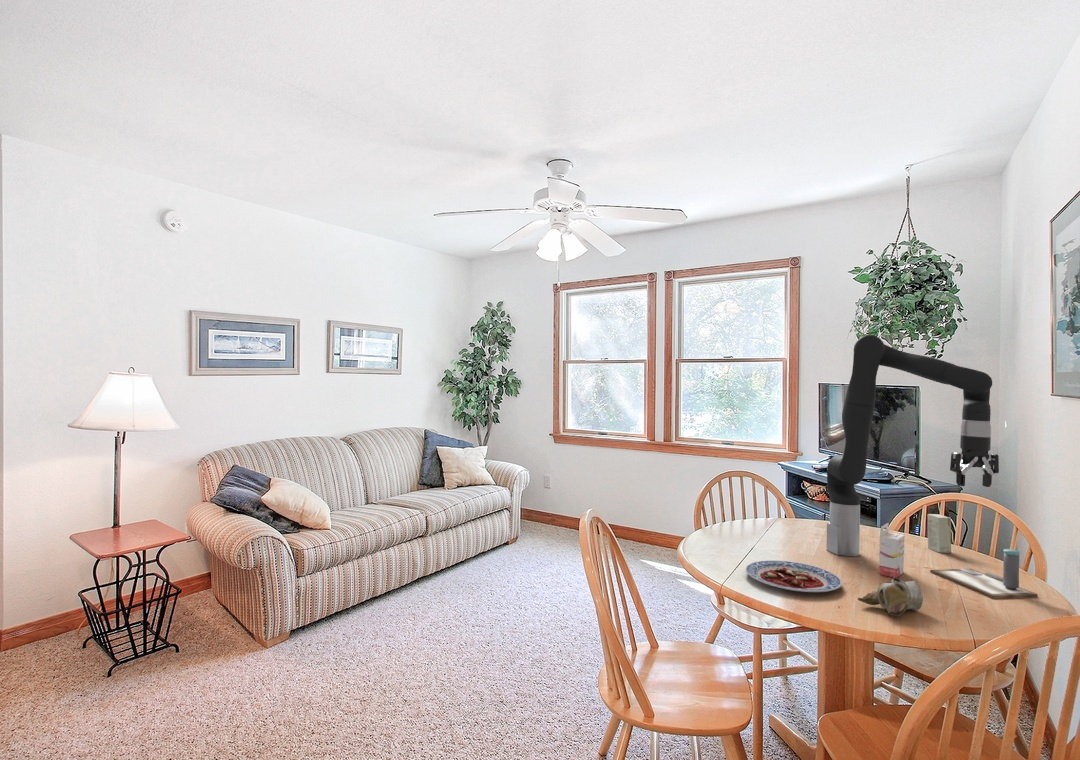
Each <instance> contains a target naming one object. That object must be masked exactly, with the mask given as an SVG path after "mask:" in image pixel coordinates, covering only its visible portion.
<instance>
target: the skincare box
mask: <svg viewBox="0 0 1080 760" xmlns="http://www.w3.org/2000/svg"><path fill="white" fill-rule="evenodd" d="M927 548H928V549H929V550H932V551H934V552H937V553H945V554H946V553H947V554H949V553H950V554H951V553H952V518H951V517H949V516H945V515H942V514H937V513H934V514H933V513H928V514H927Z"/></svg>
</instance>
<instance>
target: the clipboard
mask: <svg viewBox="0 0 1080 760" xmlns="http://www.w3.org/2000/svg"><path fill="white" fill-rule="evenodd" d="M929 572H930V574H933V575H935V576H938V577H941V578H942V579H945V580H948V581H949V582H951V583H954V584H957V585H959V586H961V587H964V588H965V589H968V590H970V591H973V592H975V593H978V594H980V595H983V596H985V597H987V598H990V599H1015V598H1016V599H1018V598H1019V599H1020V598H1021V599H1022V598H1038V597H1039V595H1038V593H1036V592H1033V591H1030V590H1028V589H1025V588H1022V587H1020V586H1019V588H1016V590H1009V589H1006V588H1005V586H1004V585H1003V576H999V575H997V574H994V573H992V572H985V573H983V572H981V571H978V570H975V569H973V568H946V569H945V568H944V569H942V568H941V569H930V570H929Z"/></svg>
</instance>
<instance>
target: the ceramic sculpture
mask: <svg viewBox="0 0 1080 760" xmlns="http://www.w3.org/2000/svg"><path fill="white" fill-rule="evenodd" d="M857 601H859V602H861V603H864V604H867V605H870V606H877V605H880V607H881V608H883V609H884V610H886V611H887V613H888V615H891V616H893V617H894V616H895V617H898V616H902V615H903V614H904V613H905V612H906V610H910V611H919V610H920V609H921V608H922V606H923V601H924V597H923V594H922V591H921V587H920V584H919V582H918V580H916V579H914V580H911V581H904V580H902V579H900V578H898V577H897V578H893V579H892V580H890V581H887V582H883V583H881V584H879V586H878V587H877V591H871V592H868V593H867V594H866V595H864V596H863V597H857Z"/></svg>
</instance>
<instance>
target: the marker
mask: <svg viewBox="0 0 1080 760" xmlns="http://www.w3.org/2000/svg"><path fill="white" fill-rule="evenodd" d="M1002 552H1003V565H1002V566H1003V567H1002V569H1003V575H1002V578H1003V585H1004V586H1005V588H1006V589H1009V590H1016V588H1019V587H1020V555H1021V554H1020V553H1021V552H1020V551H1019V550H1016V549H1012V548H1003V551H1002Z"/></svg>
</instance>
